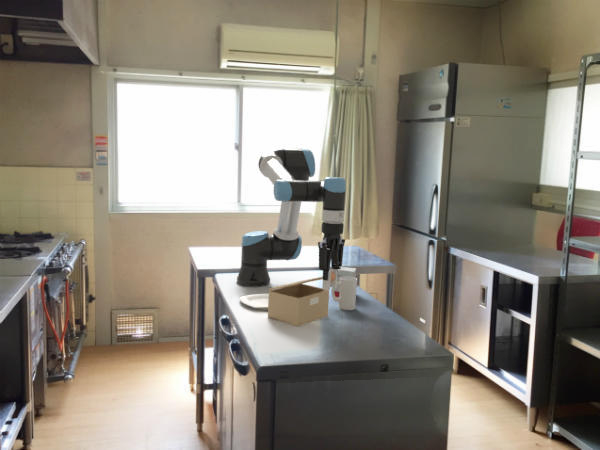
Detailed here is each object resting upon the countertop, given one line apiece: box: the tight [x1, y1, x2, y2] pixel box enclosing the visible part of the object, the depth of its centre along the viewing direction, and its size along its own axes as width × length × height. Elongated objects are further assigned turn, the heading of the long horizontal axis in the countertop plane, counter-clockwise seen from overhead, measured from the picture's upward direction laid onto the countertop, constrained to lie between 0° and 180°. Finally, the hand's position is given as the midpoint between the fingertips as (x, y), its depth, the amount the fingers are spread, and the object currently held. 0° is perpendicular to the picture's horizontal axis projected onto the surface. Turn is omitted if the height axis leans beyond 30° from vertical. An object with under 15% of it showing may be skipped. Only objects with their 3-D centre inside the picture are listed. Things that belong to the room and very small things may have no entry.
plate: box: [239, 293, 269, 310], centre depth 224 cm, size 19×19×2 cm
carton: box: [267, 283, 330, 327], centre depth 208 cm, size 14×18×10 cm
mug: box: [330, 277, 358, 311], centre depth 222 cm, size 10×7×12 cm, turn 101°
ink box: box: [334, 266, 357, 298], centre depth 242 cm, size 9×9×12 cm
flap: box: [267, 272, 335, 291], centre depth 205 cm, size 24×18×3 cm
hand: (329, 287), depth 199 cm, fingers closed on flap, 3 cm apart
